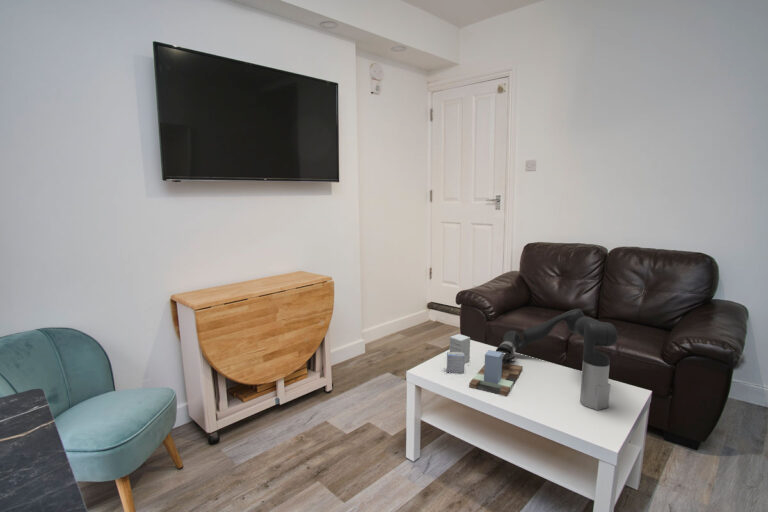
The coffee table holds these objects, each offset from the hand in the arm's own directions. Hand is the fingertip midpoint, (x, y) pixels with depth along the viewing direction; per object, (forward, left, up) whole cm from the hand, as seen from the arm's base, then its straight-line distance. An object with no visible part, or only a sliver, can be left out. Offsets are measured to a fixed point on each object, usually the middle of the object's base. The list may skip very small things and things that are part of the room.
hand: (496, 363), depth 178 cm
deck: (+2, -2, -8) cm, 8 cm away
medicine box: (+15, +12, -8) cm, 21 cm away
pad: (-3, +3, -8) cm, 9 cm away
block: (-3, +4, -6) cm, 7 cm away
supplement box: (+25, +4, -8) cm, 26 cm away
